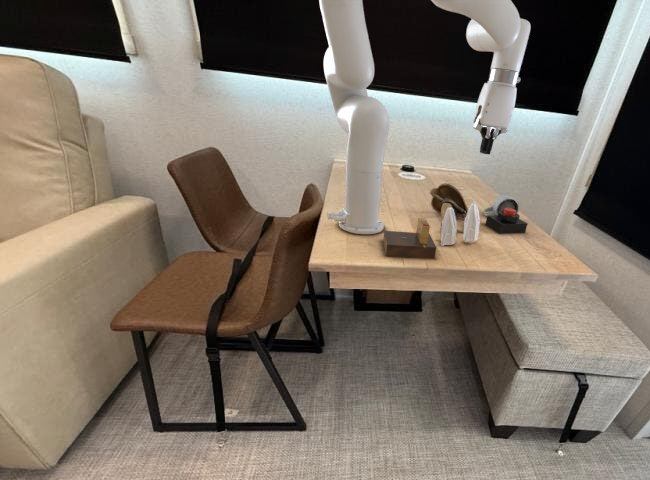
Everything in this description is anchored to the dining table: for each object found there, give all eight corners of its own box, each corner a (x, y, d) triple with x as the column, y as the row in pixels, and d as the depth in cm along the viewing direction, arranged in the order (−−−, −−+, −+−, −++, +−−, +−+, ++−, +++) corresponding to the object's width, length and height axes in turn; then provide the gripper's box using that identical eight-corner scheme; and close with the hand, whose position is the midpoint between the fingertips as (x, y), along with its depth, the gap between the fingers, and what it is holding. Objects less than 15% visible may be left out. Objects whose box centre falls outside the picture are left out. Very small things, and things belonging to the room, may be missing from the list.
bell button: (507, 217, 101) (509, 211, 100) (500, 213, 104) (502, 207, 103) (516, 216, 103) (518, 211, 102) (509, 213, 105) (511, 207, 105)
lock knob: (415, 234, 84) (418, 216, 81) (422, 235, 84) (425, 217, 82) (419, 243, 79) (422, 224, 76) (426, 244, 79) (430, 225, 77)
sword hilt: (476, 198, 110) (438, 175, 107) (486, 220, 89) (439, 192, 86) (459, 223, 115) (422, 202, 112) (465, 250, 94) (420, 224, 91)
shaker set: (474, 239, 94) (483, 201, 88) (481, 245, 91) (491, 205, 85) (435, 240, 91) (443, 200, 85) (441, 246, 87) (449, 204, 81)
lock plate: (386, 257, 78) (387, 244, 76) (382, 240, 86) (383, 229, 84) (443, 260, 80) (445, 248, 78) (434, 243, 88) (436, 232, 87)
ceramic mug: (509, 214, 120) (515, 193, 116) (515, 222, 113) (522, 199, 109) (480, 212, 120) (485, 190, 116) (485, 219, 113) (490, 196, 109)
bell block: (499, 234, 101) (503, 218, 98) (484, 224, 107) (488, 209, 104) (524, 233, 105) (529, 217, 102) (509, 224, 111) (513, 209, 108)
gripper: (516, 83, 93) (498, 153, 102) (471, 74, 87) (456, 149, 97) (533, 84, 87) (512, 157, 97) (487, 74, 82) (469, 153, 91)
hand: (484, 153), depth 97 cm, fingers closed
